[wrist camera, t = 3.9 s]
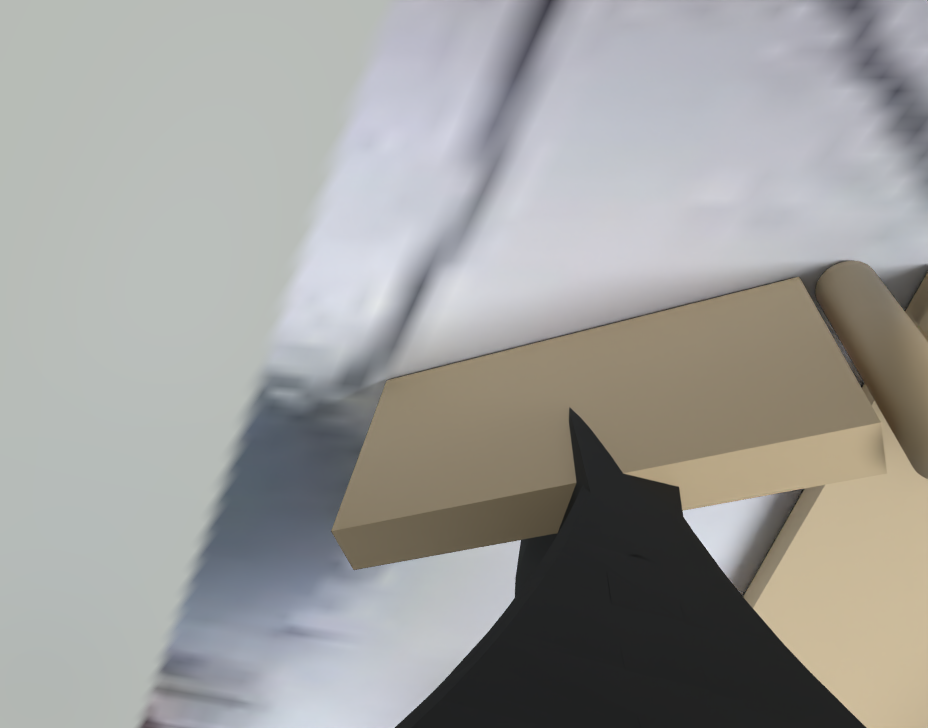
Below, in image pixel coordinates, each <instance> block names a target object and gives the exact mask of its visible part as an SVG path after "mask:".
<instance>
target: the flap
mask: <svg viewBox="0 0 928 728" xmlns="http://www.w3.org/2000/svg"><path fill="white" fill-rule="evenodd" d="M815 294H816V298H817V301H818V303H819V304H820V306H821V308H822V310H823V311H824V313H825V315H826V317H827V318H828V320H829V322H830V324H831V325H832V327H833V329H834V331H835V332H836V334H837V336H838V338H839V339H840V341H841V343H842V345H843V346H844V348H845V350H846V351H847V353H848V355H849V357H850V358H851V360H852V362H853V364H854V365H855V367H856V369H857V371H858V372H859V374H860V376H861V378H862V379H863V381H864V383H865V385H866V386H867V388H868V390H869V392H870V393H871V395H872V397H873V399H874V400H875V402H876V404H877V406H878V407H879V409H880V411H881V413H882V414H883V416H884V418H885V420H886V421H887V423H888V425H889V427H890V428H891V430H892V432H893V434H894V435H895V437H896V439H897V441H898V442H899V444H900V446H901V448H902V449H903V451H904V453H905V454H906V456H907V458H908V460H909V461H910V463H911V465H912V467H913V468H914V470H915V471H916V472H917V473H918V474H919V475H921V476H922V477H924V478H926V479H928V341H927V340H926V339H925V338H924V336H923V335H922V334H921V332H920V331H919V330H918V328H917V327H916V326H915V324H914V323H913V322H912V320H911V319H910V318H909V316H908V315H907V314H906V312H905V311H904V310H903V308H902V307H901V306H900V305H899V303H898V302H897V301H896V299H895V298H894V297H893V295H892V294H891V293H890V291H889V290H888V289H887V287H886V286H885V285H884V283H883V282H882V281H881V279H880V278H879V277H878V276H877V274H876V273H875V272H874V270H873V269H872V268H871V267H870V266H868V265H867V264H865V263H863V262H859V261H845V262H841V263H838V264H836V265H834V266H832V267H830V268H829V269H827V270H826V271H825V272H824V273H823V274H822V275H821V277H820V278H819V280H818V282H817V284H816V289H815ZM569 407H570V408H571V409H572V410H573V411H574V412H575V413H576V414H577V415H579V416H580V417H581V418H582V420H583V421H584V422H585V423H586V424H587V425H588V426H589V428H590V429H591V430H592V431H593V432H594V434H595V435H596V436H597V438H598V439H599V440H600V442H601V443H602V444H603V446H604V447H605V448H606V450H607V451H608V452H609V454H610V455H611V456H612V458H613V459H614V461H615V462H616V464H617V465H618V467H619V468H620V470H621V471H622V472H623V474H628V475H632V476H636V477H640V478H644V479H649V480H653V481H657V482H661V483H665V484H669V485H674V486H678V487H679V490H680V497H681V504H682V511H683V510H688V509H694V508H699V507H705V506H710V505H716V504H721V503H727V502H733V501H738V500H744V499H749V498H755V497H760V496H766V495H771V494H777V493H782V492H788V491H793V490H799V489H804V488H810V487H815V486H821V485H826V484H832V483H838V482H843V481H849V480H854V479H860V478H865V477H871V476H876V475H882V474H887V468H886V460H885V452H884V443H883V435H882V427H881V422H880V420H879V418H878V416H877V415H876V413H875V411H874V409H873V407H872V406H871V404H870V402H869V400H868V399H867V397H866V395H865V393H864V391H863V390H862V388H861V386H860V384H859V383H858V381H857V379H856V377H855V375H854V374H853V372H852V370H851V368H850V367H849V365H848V363H847V361H846V359H845V358H844V356H843V354H842V352H841V350H840V349H839V347H838V345H837V343H836V342H835V340H834V338H833V336H832V334H831V333H830V331H829V329H828V327H827V326H826V324H825V322H824V320H823V318H822V317H821V315H820V313H819V311H818V310H817V308H816V306H815V304H814V302H813V301H812V299H811V297H810V295H809V293H808V292H807V290H806V288H805V286H804V285H803V283H802V281H801V279H800V277H796V278H792V279H788V280H784V281H780V282H776V283H772V284H768V285H764V286H760V287H756V288H752V289H748V290H744V291H740V292H736V293H732V294H728V295H724V296H720V297H716V298H712V299H709V300H705V301H701V302H697V303H693V304H689V305H685V306H681V307H677V308H673V309H669V310H665V311H661V312H657V313H653V314H649V315H645V316H641V317H637V318H633V319H629V320H625V321H621V322H617V323H613V324H609V325H605V326H601V327H597V328H593V329H589V330H585V331H581V332H577V333H573V334H569V335H565V336H561V337H557V338H553V339H549V340H545V341H541V342H537V343H534V344H530V345H526V346H522V347H518V348H514V349H510V350H506V351H502V352H498V353H494V354H490V355H486V356H482V357H478V358H474V359H470V360H466V361H462V362H458V363H454V364H450V365H446V366H442V367H438V368H434V369H430V370H426V371H422V372H418V373H414V374H410V375H406V376H402V377H398V378H394V379H390V380H387V381H386V383H385V386H384V389H383V392H382V394H381V397H380V400H379V403H378V405H377V408H376V411H375V413H374V416H373V419H372V422H371V424H370V427H369V430H368V432H367V435H366V438H365V441H364V443H363V446H362V449H361V451H360V454H359V457H358V460H357V462H356V465H355V468H354V471H353V473H352V476H351V479H350V481H349V484H348V487H347V490H346V492H345V495H344V498H343V500H342V503H341V506H340V509H339V511H338V514H337V517H336V519H335V522H334V525H333V528H332V530H331V532H332V533H333V535H334V537H335V539H336V540H337V542H338V544H339V546H340V547H341V549H342V551H343V552H344V554H345V556H346V558H347V559H348V561H349V563H350V564H351V566H352V568H353V570H357V569H362V568H368V567H373V566H379V565H384V564H390V563H395V562H401V561H406V560H412V559H418V558H423V557H429V556H434V555H440V554H445V553H451V552H456V551H462V550H467V549H473V548H478V547H484V546H489V545H495V544H500V543H506V542H511V541H517V540H523V539H528V538H534V537H539V536H545V535H550V534H556V533H558V530H559V528H560V525H561V523H562V520H563V517H564V515H565V512H566V509H567V507H568V504H569V501H570V499H571V496H572V493H573V491H574V488H575V485H576V475H575V467H574V459H573V451H572V443H571V435H570V427H569Z"/></svg>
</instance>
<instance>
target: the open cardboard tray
mask: <svg viewBox="0 0 928 728" xmlns="http://www.w3.org/2000/svg"><path fill="white" fill-rule="evenodd" d="M905 312H906V314H907V315H908V316H909V318H910V319H911V320H912V322H913V323H914V324H915V326H916V327H917V328H918V330H919V331H920V332H921V334H922V335H923V336H924V338H925V339H926V340H927V341H928V272H927V274H926V276H925V278H924V279H923V281H922V283H921V285H920V286H919V288H918V290H917V292H916V293H915V295H914V297H913V299H912V300H911V302H910V304H909V306H908V307H907V309H906V311H905ZM862 390H863V391H864V393H865V395H866V397H867V399H868V400H869V402H870V404H871V406H872V407H873V409H874V411H875V413H876V415H877V416H878V418H879V420H880V422H881V427H882V435H883V443H884V452H885V460H886V468H887V474H882V475H876V476H871V477H865V478H860V479H854V480H849V481H843V482H838V483H832V484H826V485H821V486H815V487H810V488H805V489H804V491H803V492H802V494H801V496H800V498H799V499H798V501H797V503H796V505H795V506H794V508H793V510H792V512H791V513H790V515H789V517H788V519H787V521H786V522H785V524H784V526H783V528H782V529H781V531H780V533H779V535H778V536H777V538H776V540H775V542H774V543H773V545H772V547H771V549H770V550H769V552H768V554H767V556H766V558H765V559H764V561H763V563H762V565H761V566H760V568H759V570H758V572H757V573H756V575H755V577H754V579H753V580H752V582H751V584H750V586H749V587H748V589H747V591H746V593H745V594H744V596H743V598H744V599H745V600H746V601H747V602H748V603H749V604H750V606H751V607H752V608H753V609H754V610H755V611H756V613H757V614H758V615H759V616H760V617H761V618H762V619H763V621H764V622H765V623H766V624H767V625H768V626H769V628H770V629H771V630H772V631H773V632H774V633H775V634H776V636H777V637H778V638H779V639H780V640H781V641H782V642H783V644H784V645H785V646H786V647H787V648H788V649H789V650H790V651H791V652H792V653H793V654H794V655H795V656H796V657H797V659H798V660H799V661H800V662H801V663H802V664H803V665H804V666H805V667H806V668H807V669H808V670H809V671H810V672H811V673H812V674H813V675H814V676H815V677H816V678H817V679H818V680H819V681H820V682H821V683H822V684H823V685H824V686H825V687H826V688H827V689H828V690H829V691H830V692H831V693H832V694H833V695H834V696H835V697H836V698H837V699H838V700H839V701H840V702H841V703H842V704H843V705H844V706H845V707H846V708H847V709H848V710H849V711H850V712H851V713H852V714H853V715H854V716H855V717H856V718H857V719H858V720H859V721H860V722H861V723H862V724H863V725H864V726H865V727H866V728H928V479H926V478H924V477H922V476H921V475H919V474H918V473H917V472H916V471H915V470H914V468H913V467H912V465H911V463H910V461H909V460H908V458H907V456H906V454H905V453H904V451H903V449H902V448H901V446H900V444H899V442H898V441H897V439H896V437H895V435H894V434H893V432H892V430H891V428H890V427H889V425H888V423H887V421H886V420H885V418H884V416H883V414H882V413H881V411H880V409H879V407H878V406H877V404H876V402H875V400H874V399H873V397H872V395H871V393H870V392H869V390H868V388H867V386H866V385H865V383H864V385H863V387H862Z"/></svg>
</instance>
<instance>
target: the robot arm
mask: <svg viewBox="0 0 928 728" xmlns="http://www.w3.org/2000/svg"><path fill="white" fill-rule="evenodd" d="M569 427H570V435H571V443H572V451H573V459H574V467H575V475H576V485H575V488H574V491H573V493H572V496H571V499H570V501H569V504H568V507H567V509H566V512H565V515H564V517H563V520H562V523H561V525H560V528H559V530H558V533H556V534H550V535H545V536H539V537H534V538H528V539H523V540H521V545H520V551H519V558H518V565H517V572H516V582H515V599H514V600H513V601H512V603H511V604H510V605H509V607H508V608H507V609H506V611H505V612H504V613H503V614H502V616H501V617H500V618H499V619H498V621H497V622H496V623H495V624H494V626H493V627H492V628H491V629H490V630H489V632H488V633H487V634H486V635H485V636H484V637H483V638H482V639H481V641H480V642H479V643H478V644H477V645H476V646H475V647H474V648H473V649H472V650H471V652H470V653H469V654H468V655H467V656H466V657H465V658H464V659H463V660H462V661H461V663H460V664H459V665H458V666H457V667H456V668H455V669H454V670H453V671H452V672H451V674H450V675H449V676H448V677H447V678H446V679H445V680H444V681H443V682H442V683H441V684H440V685H439V686H438V687H437V688H436V689H435V690H434V691H433V692H432V693H431V694H430V695H429V696H428V697H427V698H426V699H425V700H424V701H423V702H422V703H421V704H420V705H419V706H418V707H417V708H416V709H414V710H413V711H412V712H411V713H410V714H409V715H408V716H407V717H406V718H405V719H404V720H403V721H402V722H400V723H399V724H398V725H397V726H396V727H395V728H866V727H865V726H864V725H863V724H862V723H861V722H860V721H859V720H858V719H857V718H856V717H855V716H854V715H853V714H852V713H851V712H850V711H849V710H848V709H847V708H846V707H845V706H844V705H843V704H842V703H841V702H840V701H839V700H838V699H837V698H836V697H835V696H834V695H833V694H832V693H831V692H830V691H829V690H828V689H827V688H826V687H825V686H824V685H823V684H822V683H821V682H820V681H819V680H818V679H817V678H816V677H815V676H814V675H813V674H812V673H811V672H810V671H809V670H808V669H807V668H806V667H805V666H804V665H803V664H802V663H801V662H800V661H799V660H798V659H797V657H796V656H795V655H794V654H793V653H792V652H791V651H790V650H789V649H788V648H787V647H786V646H785V645H784V644H783V642H782V641H781V640H780V639H779V638H778V637H777V636H776V634H775V633H774V632H773V631H772V630H771V629H770V628H769V626H768V625H767V624H766V623H765V622H764V621H763V619H762V618H761V617H760V616H759V615H758V614H757V613H756V611H755V610H754V609H753V608H752V607H751V606H750V604H749V603H748V602H747V601H746V600H745V599H744V598H743V596H742V595H741V594H740V593H739V591H738V590H737V589H736V588H735V586H734V585H733V584H732V583H731V581H730V580H729V579H728V578H727V576H726V575H725V574H724V573H723V571H722V570H721V569H720V567H719V566H718V565H717V563H716V562H715V560H714V559H713V558H712V556H711V555H710V554H709V552H708V551H707V550H706V548H705V547H704V546H703V544H702V543H701V541H700V540H699V539H698V537H697V536H696V535H695V533H694V532H693V530H692V529H691V528H690V526H689V525H688V523H687V522H686V520H685V519H684V517H683V512H682V504H681V497H680V490H679V487H678V486H674V485H669V484H665V483H661V482H657V481H653V480H649V479H644V478H640V477H636V476H632V475H628V474H623V472H622V471H621V470H620V468H619V467H618V465H617V464H616V462H615V461H614V459H613V458H612V456H611V455H610V454H609V452H608V451H607V450H606V448H605V447H604V446H603V444H602V443H601V442H600V440H599V439H598V438H597V436H596V435H595V434H594V432H593V431H592V430H591V429H590V428H589V426H588V425H587V424H586V423H585V422H584V421H583V420H582V418H581V417H580V416H579V415H577V414H576V413H575V412H574V411H573V410H572V409H571V408H570V407H569Z"/></svg>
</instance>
